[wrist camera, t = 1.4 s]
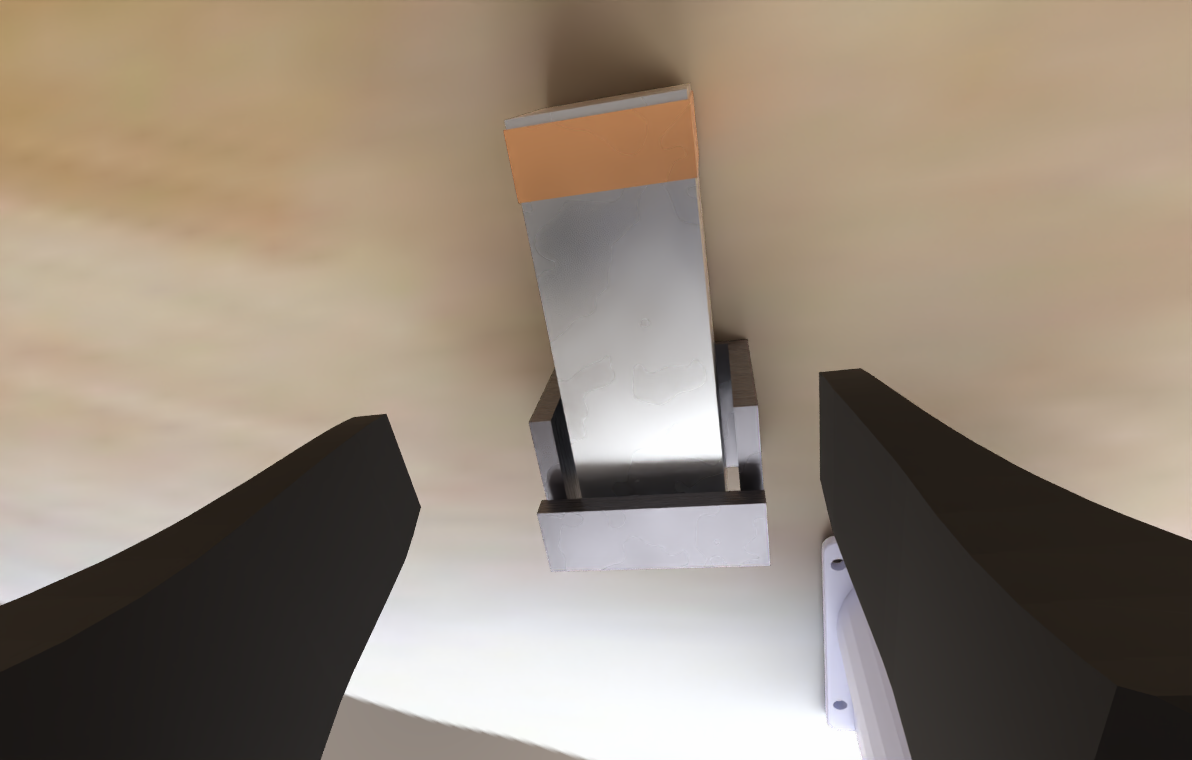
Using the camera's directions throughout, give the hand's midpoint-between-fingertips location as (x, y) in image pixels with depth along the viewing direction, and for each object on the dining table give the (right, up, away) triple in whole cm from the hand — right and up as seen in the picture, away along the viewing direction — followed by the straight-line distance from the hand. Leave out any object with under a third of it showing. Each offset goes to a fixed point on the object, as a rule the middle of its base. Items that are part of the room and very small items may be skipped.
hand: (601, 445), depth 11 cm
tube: (+1, +3, +9) cm, 10 cm away
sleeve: (+2, 0, +11) cm, 11 cm away
